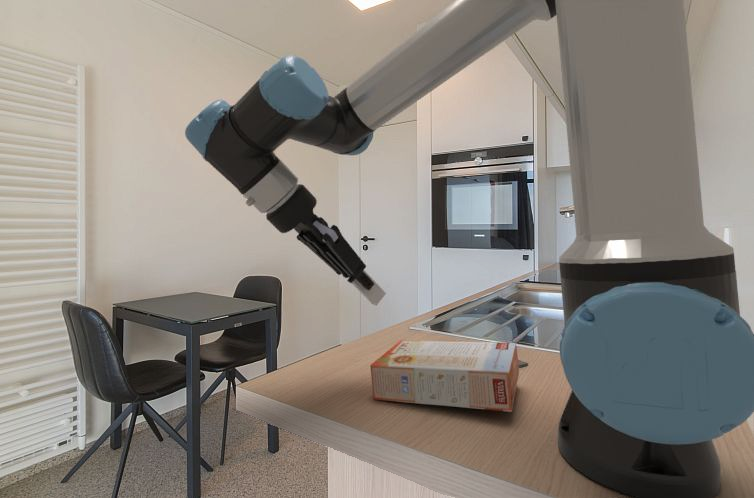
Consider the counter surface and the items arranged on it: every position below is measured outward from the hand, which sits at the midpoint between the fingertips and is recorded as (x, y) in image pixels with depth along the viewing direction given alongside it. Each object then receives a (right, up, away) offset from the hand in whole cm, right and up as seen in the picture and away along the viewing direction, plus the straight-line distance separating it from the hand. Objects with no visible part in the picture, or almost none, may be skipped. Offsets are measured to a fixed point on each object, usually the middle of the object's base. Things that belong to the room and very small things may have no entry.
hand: (379, 298), depth 68 cm
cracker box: (+1, -12, -1) cm, 12 cm away
